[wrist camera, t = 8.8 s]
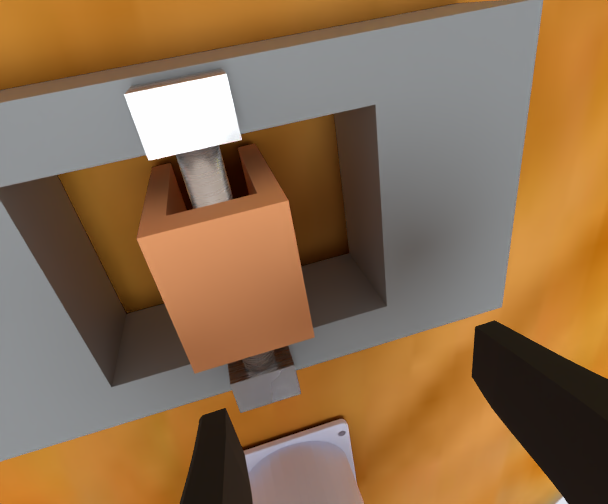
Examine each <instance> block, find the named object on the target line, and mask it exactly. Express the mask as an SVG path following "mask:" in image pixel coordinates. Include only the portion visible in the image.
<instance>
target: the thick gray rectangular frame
mask: <svg viewBox="0 0 608 504" xmlns="http://www.w3.org/2000/svg"><path fill="white" fill-rule="evenodd" d="M542 5H543V0H498V1H483V2H469V3H456V4H451V5H446V6H441V7H435V8H430V9H425V10H420V11H414V12H409V13H404V14H399V15H393V16H388V17H383V18H378V19H372V20H367V21H362V22H356V23H351V24H346V25H341V26H335V27H330V28H325V29H320V30H314V31H309V32H304V33H299V34H293V35H288V36H283V37H277V38H272V39H267V40H262V41H256V42H251V43H246V44H241V45H235V46H230V47H225V48H220V49H214V50H209V51H204V52H199V53H193V54H188V55H183V56H177V57H172V58H167V59H162V60H156V61H151V62H146V63H141V64H135V65H130V66H125V67H120V68H114V69H109V70H104V71H98V72H93V73H88V74H83V75H77V76H72V77H67V78H62V79H56V80H51V81H46V82H41V83H35V84H30V85H25V86H20V87H14V88H9V89H4V90H0V461H3V460H7V459H10V458H13V457H16V456H20V455H23V454H26V453H29V452H33V451H36V450H39V449H42V448H46V447H49V446H52V445H55V444H59V443H62V442H65V441H68V440H72V439H75V438H78V437H81V436H85V435H88V434H91V433H94V432H98V431H101V430H104V429H107V428H111V427H114V426H117V425H120V424H124V423H127V422H130V421H133V420H137V419H140V418H143V417H146V416H150V415H153V414H156V413H159V412H163V411H166V410H169V409H172V408H176V407H179V406H182V405H185V404H189V403H192V402H195V401H198V400H202V399H205V398H208V397H211V396H215V395H218V394H221V393H224V392H228V391H231V390H232V391H233V394H234V396H235V399H236V402H237V405H238V407H239V410H240V413H242V412H245V411H248V410H251V409H254V408H258V407H261V406H264V405H267V404H270V403H273V402H277V401H280V400H283V399H286V398H289V397H292V396H296V395H299V394H301V391H300V387H299V383H298V378H297V374H296V370H299V369H302V368H305V367H309V366H312V365H315V364H318V363H322V362H325V361H328V360H331V359H335V358H338V357H341V356H344V355H348V354H351V353H354V352H357V351H361V350H364V349H367V348H370V347H374V346H377V345H380V344H383V343H387V342H390V341H393V340H396V339H400V338H403V337H406V336H409V335H413V334H416V333H419V332H422V331H426V330H429V329H432V328H435V327H439V326H442V325H445V324H448V323H452V322H455V321H458V320H461V319H465V318H468V317H471V316H474V315H478V314H481V313H484V312H487V311H491V310H494V309H497V308H500V307H502V303H503V295H504V288H505V280H506V273H507V265H508V258H509V250H510V243H511V236H512V228H513V221H514V213H515V206H516V198H517V191H518V184H519V176H520V169H521V161H522V154H523V146H524V139H525V132H526V124H527V117H528V109H529V102H530V94H531V87H532V80H533V72H534V65H535V57H536V50H537V42H538V35H539V28H540V20H541V13H542ZM330 114H334V119H335V128H336V137H337V146H338V155H339V164H340V173H341V182H342V192H343V201H344V210H345V219H346V228H347V237H348V246H349V253H348V254H345V255H341V256H337V257H334V258H330V259H326V260H323V261H319V262H315V263H312V264H308V265H304V266H301V268H302V274H303V279H304V284H305V289H306V294H307V300H308V305H309V310H310V315H311V320H312V326H313V331H314V336H315V337H314V338H311V339H308V340H304V341H301V342H298V343H294V344H291V345H288V346H285V347H281V348H278V349H275V350H271V351H268V352H265V353H261V354H258V355H255V356H251V357H248V358H245V359H242V360H238V361H235V362H232V363H228V364H225V365H222V366H218V367H215V368H212V369H209V370H205V371H202V372H199V373H194V371H193V369H192V366H191V364H190V362H189V359H188V357H187V355H186V352H185V350H184V348H183V345H182V343H181V341H180V338H179V336H178V334H177V332H176V329H175V327H174V325H173V322H172V320H171V318H170V315H169V313H168V311H167V308H166V306H165V304H161V305H157V306H153V307H150V308H146V309H142V310H139V311H135V312H131V313H128V314H126V312H125V310H124V308H123V306H122V304H121V302H120V300H119V298H118V296H117V294H116V292H115V290H114V288H113V286H112V284H111V282H110V280H109V278H108V276H107V274H106V272H105V270H104V268H103V266H102V264H101V262H100V260H99V258H98V256H97V254H96V252H95V250H94V248H93V246H92V244H91V242H90V240H89V238H88V236H87V234H86V232H85V230H84V228H83V226H82V224H81V222H80V220H79V218H78V216H77V214H76V212H75V210H74V208H73V206H72V204H71V202H70V200H69V198H68V196H67V194H66V192H65V190H64V188H63V186H62V184H61V182H60V180H59V178H58V176H57V175H58V174H63V173H67V172H72V171H76V170H81V169H85V168H90V167H94V166H99V165H103V164H108V163H112V162H117V161H122V160H126V159H131V158H135V157H140V156H144V155H147V158H148V161H149V160H154V159H158V158H163V157H167V156H172V155H176V158H177V161H178V164H179V167H180V170H181V173H182V176H183V179H184V182H185V185H186V188H187V192H188V195H189V198H190V201H191V204H192V207H193V209H196V208H200V207H204V206H208V205H213V204H216V203H220V202H224V201H228V200H233V196H232V192H231V189H230V185H229V181H228V177H227V173H226V170H225V166H224V162H223V158H222V155H221V151H220V147H219V145H221V144H226V143H230V142H235V141H239V140H242V138H241V134H244V133H248V132H253V131H257V130H262V129H266V128H271V127H276V126H280V125H285V124H289V123H294V122H298V121H303V120H307V119H312V118H316V117H321V116H325V115H330Z"/></svg>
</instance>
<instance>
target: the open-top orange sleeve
mask: <svg viewBox="0 0 608 504" xmlns="http://www.w3.org/2000/svg"><path fill="white" fill-rule="evenodd" d="M238 151H239V155H240V159H241V163H242V167H243V172H244V176H245V180H246V184H247V188H248V192H249V196H245V197H241V198H237V199H233V200H228V201H224V202H220V203H216V204H213V205H208V206H204V207H200V208H196V209H192V210H188V211H187V209H186V206H185V204H184V201H183V198H182V195H181V192H180V189H179V186H178V183H177V180H176V177H175V174H174V171H173V168H172V165H171V163H168V164H164V165H160V166H155V167H152V170H151V175H150V179H149V184H148V188H147V193H146V198H145V202H144V207H143V211H142V216H141V221H140V225H139V230H138V234H137V241H138V243H139V246H140V248H141V250H142V253H143V255H144V257H145V260H146V262H147V264H148V267H149V269H150V271H151V274H152V276H153V278H154V280H155V283H156V285H157V287H158V290H159V292H160V294H161V297H162V299H163V301H164V304H165V306H166V308H167V311H168V313H169V315H170V318H171V320H172V322H173V325H174V327H175V329H176V332H177V334H178V336H179V338H180V341H181V343H182V345H183V348H184V350H185V352H186V355H187V357H188V359H189V362H190V364H191V366H192V369H193V371H194V373H199V372H202V371H205V370H209V369H212V368H215V367H218V366H222V365H225V364H228V363H232V362H235V361H238V360H242V359H245V358H248V357H251V356H255V355H258V354H261V353H265V352H268V351H271V350H275V349H278V348H281V347H285V346H288V345H291V344H294V343H298V342H301V341H304V340H308V339H311V338H314V337H315V336H314V331H313V326H312V320H311V315H310V310H309V305H308V300H307V294H306V289H305V284H304V279H303V274H302V268H301V263H300V258H299V253H298V248H297V242H296V237H295V232H294V227H293V222H292V216H291V211H290V206H289V201H288V199H287V197H286V195H285V194H284V192H283V190H282V189H281V187H280V185H279V183H278V182H277V180H276V178H275V177H274V175H273V173H272V172H271V170H270V168H269V166H268V165H267V163H266V161H265V160H264V158H263V156H262V154H261V153H260V151H259V149H258V148H257V146H256V144H251V145H247V146H242V147H238Z"/></svg>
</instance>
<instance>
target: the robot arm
mask: <svg viewBox="0 0 608 504" xmlns="http://www.w3.org/2000/svg"><path fill="white" fill-rule="evenodd" d="M472 378H473V379H474V381H475V382H476V384H477V386H478V387H479V389H480V390H481V392H482V394H483V395H484V397H485V398H486V400H487V401H488V403H489V404H490V406H491V407H492V409H493V410H494V411H495V413H496V414H497V415H498V416H499V418H500V419H501V420H502V421H503V423H504V424H505V425H506V426H507V428H508V429H509V430H510V431H511V433H512V434H513V435H514V436H515V437H516V439H517V440H518V441H519V442H520V444H521V445H522V446H523V447H524V448H525V450H526V451H527V452H528V453H529V454H530V456H531V457H532V458H533V459H534V461H535V462H536V463H537V464H538V465H539V467H540V468H541V469H542V470H543V472H544V473H545V474H546V475H547V476H548V478H549V479H550V480H551V481H552V483H553V484H554V485H555V487H556V488H557V489H558V490H559V492H560V493H561V494H562V496H563V497H564V498H565V500H566V501H567V503H568V504H608V379H606V378H604V377H602V376H600V375H598V374H596V373H594V372H592V371H590V370H588V369H586V368H584V367H582V366H580V365H578V364H576V363H574V362H572V361H570V360H568V359H566V358H564V357H562V356H560V355H558V354H556V353H554V352H553V351H551V350H549V349H547V348H545V347H543V346H541V345H539V344H538V343H536V342H534V341H532V340H530V339H528V338H527V337H525V336H523V335H521V334H519V333H517V332H515V331H514V330H512V329H510V328H508V327H506V326H504V325H502V324H500V323H499V322H497V321H492V322H488V323H485V324H482V325H479V326H476V327H475V338H474V352H473V366H472ZM180 504H364V502H363V499H362V496H361V494H360V491H359V488H358V486H357V481H356V474H355V468H354V461H353V455H352V448H351V441H350V435H349V428H348V424H347V422H346V420H344V419H338V420H335V421H332V422H329V423H326V424H323V425H320V426H317V427H314V428H311V429H308V430H305V431H302V432H299V433H296V434H292V435H289V436H286V437H283V438H280V439H277V440H274V441H271V442H268V443H265V444H262V445H259V446H256V447H253V448H250V449H247V450H244V451H243V449H242V446H241V444H240V442H239V439H238V437H237V434H236V432H235V430H234V427H233V425H232V422H231V420H230V418H229V415H228V413H227V410H226V408H224V409H221V410H218V411H215V412H212V413H208V414H205V415H202V417H201V418H200V420H199V425H198V431H197V437H196V442H195V446H194V451H193V455H192V460H191V464H190V468H189V472H188V476H187V479H186V483H185V486H184V490H183V494H182V497H181V501H180Z"/></svg>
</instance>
